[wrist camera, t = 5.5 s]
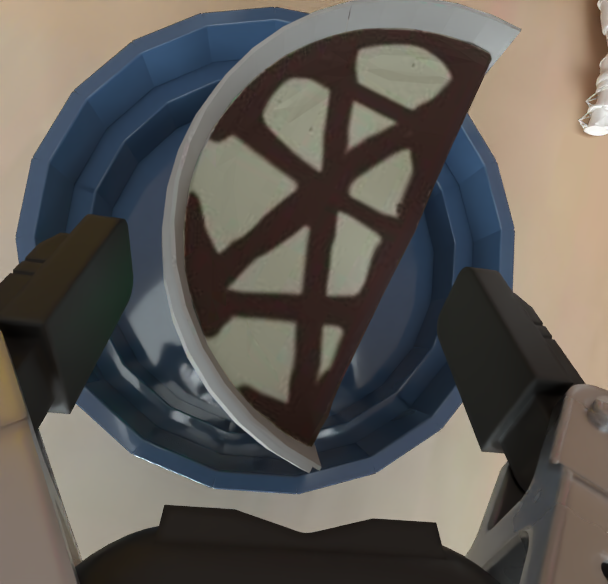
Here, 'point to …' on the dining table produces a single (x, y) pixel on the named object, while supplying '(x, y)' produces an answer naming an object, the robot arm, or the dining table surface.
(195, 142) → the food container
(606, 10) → the rocket engine
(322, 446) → the bowl
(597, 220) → the dining table surface
